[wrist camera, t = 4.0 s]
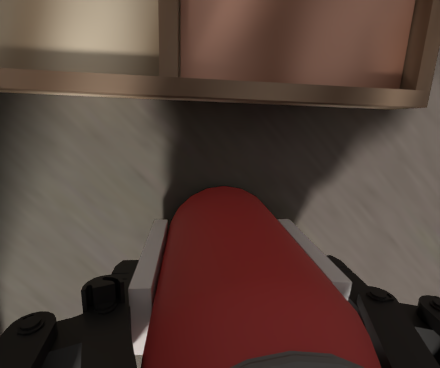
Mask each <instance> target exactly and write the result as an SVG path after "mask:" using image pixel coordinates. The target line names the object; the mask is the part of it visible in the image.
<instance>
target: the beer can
mask: <svg viewBox="0 0 440 368" xmlns="http://www.w3.org/2000/svg"><path fill="white" fill-rule="evenodd" d="M141 368H381V365H380V362H379V359H378V357H377V354H376V352H375V349H374V346H373V344H372V341H371V339H370V336H369V334H368V332H367V330H366V328H365V326H364V324H363V322H362V320H361V318H360V317H359V315H358V313H357V311H356V310H355V309H354V308H353V306H352V305H351V304H350V303H349V302H348V301H347V300H346V298H345V297H344V296H343V295H342V294H341V293H340V292H339V290H338V289H337V288H336V287H335V286H334V285H333V283H332V282H331V281H330V280H329V279H328V278H327V277H326V275H325V274H324V273H323V272H322V271H321V270H320V268H319V267H318V266H317V265H316V264H315V263H314V262H313V260H312V259H311V258H310V257H309V256H308V255H307V254H306V252H305V251H304V250H303V249H302V248H301V247H300V245H299V244H298V243H297V242H296V241H295V240H294V239H293V237H292V236H291V235H290V234H289V233H288V232H287V230H286V229H285V228H284V227H283V226H282V225H281V224H280V222H279V221H278V220H277V219H276V218H275V217H274V216H273V214H272V213H271V212H270V211H269V210H268V209H267V208H266V206H265V205H264V204H263V203H262V202H261V201H260V200H259V199H258V198H257V197H256V196H254V195H252V194H250V193H248V192H247V191H245V190H243V189H240V188H234V187H228V186H220V187H214V188H207V189H205V190H203V191H201V192H199V193H197V194H194V195H192V196H191V197H190V198H188V199H187V200H186V201H185V202H184V203H183V204H182V205H181V206H180V207H179V208H178V210H177V212H176V213H175V215H174V217H173V219H172V221H171V223H170V227H169V232H168V237H167V241H166V246H165V251H164V256H163V261H162V265H161V270H160V275H159V280H158V284H157V289H156V294H155V299H154V303H153V308H152V313H151V318H150V322H149V327H148V332H147V337H146V341H145V346H144V351H143V357H142V364H141Z"/></svg>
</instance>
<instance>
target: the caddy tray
mask: <svg viewBox="0 0 440 368" xmlns="http://www.w3.org/2000/svg"><path fill="white" fill-rule="evenodd" d="M439 46H440V0H0V92H3V93H25V94H48V95H71V96H93V97H116V98H138V99H161V100H184V101H206V102H229V103H251V104H274V105H297V106H319V107H342V108H364V109H387V110H390V109H408V108H425V107H427V105H428V100H429V95H430V90H431V85H432V80H433V75H434V71H435V66H436V61H437V56H438V51H439Z"/></svg>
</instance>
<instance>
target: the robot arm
mask: <svg viewBox="0 0 440 368" xmlns="http://www.w3.org/2000/svg"><path fill="white" fill-rule="evenodd" d="M277 220H278V221H279V222H280V224H281V225H282V226H283V227H284V228H285V229H286V230H287V232H288V233H289V234H290V235H291V236H292V237H293V239H294V240H295V241H296V242H297V243H298V244H299V245H300V247H301V248H302V249H303V250H304V251H305V252H306V254H307V255H308V256H309V257H310V258H311V259H312V260H313V262H314V263H315V264H316V265H317V266H318V267H319V268H320V270H321V271H322V272H323V273H324V274H325V275H326V277H327V278H328V279H329V280H330V281H331V282H332V283H333V285H334V286H335V287H336V288H337V289H338V290H339V292H340V293H341V294H342V295H343V296H344V297H345V298H346V300H347V301H348V302H349V303H350V304H351V305H352V306H353V308H354V309H355V310H356V311H357V313H358V315H359V317H360V318H361V320H362V322H363V324H364V326H365V328H366V330H367V332H368V334H369V336H370V339H371V341H372V344H373V346H374V349H375V352H376V354H377V357H378V359H379V362H380V365H381V368H440V298H439V297H437V296H429V295H426V296H421V297H420V298H419V301H418V306H414V305H408V304H403V303H399V302H398V301H397V299H396V298H395V297H394V296H393V295H392V294H390V293H388V292H387V291H385V290H382V289H380V288H376V287H372V286H367V285H366V284H365V283H364V282H363V281H362V280H361V279H360V278H359V277H358V276H357V275H356V274H354V273H352V271H351V270H350V269H349V268H347V266H346V265H345V264H344V263H343V262H342V261H341V260H339V259H337V258H335V257H333V256H331V255H328V256H326V255H325V254H324V253H323V252H322V251H321V250H320V249H319V248H318V247H317V246H316V245H315V244H314V243H313V242H312V241H311V240H310V239H309V238H308V237H307V236H306V235H305V234H304V233H303V232H302V231H301V230H300V229H299V228H298V227H297V226H296V225H295V224H294V223H293V222H292V221H291V220H290V219H277ZM167 237H168V220H154V222H153V225H152V227H151V230H150V233H149V235H148V238H147V240H146V243H145V246H144V248H143V251H142V254H141V256H140V259H139V260H123V261H122V262H120V263H119V264H118V265H116V266H115V268H114V270H113V272H112V275H104V276H100V277H96V278H94V279H92V280H90V281H88V282H87V283H86V284H85V285H84V286H83V287H82V290H81V295H82V306H83V314H81V315H79V316H76V317H73V318H69V319H65V320H61V321H57V322H56V317H55V315H54V314H53V313H50V312H41V311H40V312H36V313H31V314H28V315H26V316H23V317H21V318H20V319H18V320H16V321H15V322H13V323H12V324H11V325H10V326H9V327H8V328H7V329H6V330H5V331H4V333H3V334H2V335H1V337H0V368H137V365H136V360H135V355H143V351H144V346H145V341H146V337H147V332H148V327H149V322H150V318H151V313H152V308H153V303H154V299H155V294H156V289H157V284H158V280H159V275H160V270H161V265H162V261H163V256H164V251H165V246H166V241H167Z"/></svg>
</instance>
